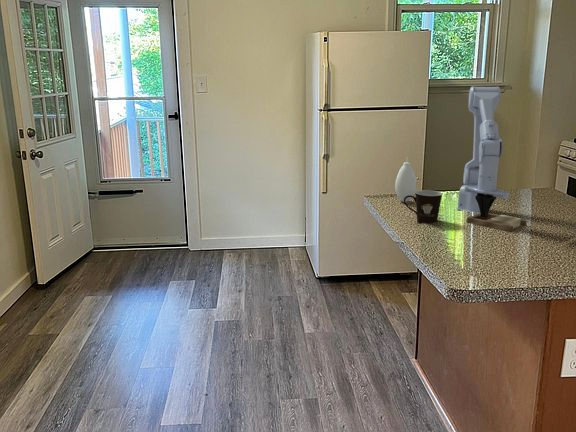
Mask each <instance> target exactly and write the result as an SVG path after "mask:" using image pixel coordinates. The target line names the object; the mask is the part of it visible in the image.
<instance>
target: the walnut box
mask: <svg viewBox="0 0 576 432" xmlns="http://www.w3.org/2000/svg"><path fill="white" fill-rule="evenodd" d="M500 215H501V214H495V213H490V212H488V216H487V217H481V214H480V213H477V214H474V215H472V216H469V217H467V219H466V223H467V224H471V225H475V226H476V225H477V226H481V227H484V228H489V229H490V228H491V229H496V230H500V231H503V232H509V233H511V232H514V231H516V230H519V229H521V228H524V227H526V226H527V222H528V221H527V220H526V219H521V223H520V226H518V227H516V228H513V226H509V225H504V224H500V223H495V222H490V220H491V218H494V217H497V216H500Z"/></svg>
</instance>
